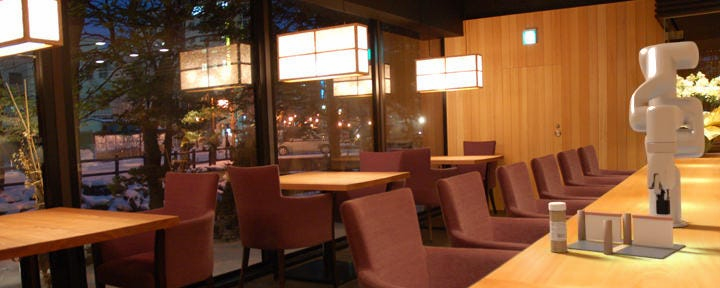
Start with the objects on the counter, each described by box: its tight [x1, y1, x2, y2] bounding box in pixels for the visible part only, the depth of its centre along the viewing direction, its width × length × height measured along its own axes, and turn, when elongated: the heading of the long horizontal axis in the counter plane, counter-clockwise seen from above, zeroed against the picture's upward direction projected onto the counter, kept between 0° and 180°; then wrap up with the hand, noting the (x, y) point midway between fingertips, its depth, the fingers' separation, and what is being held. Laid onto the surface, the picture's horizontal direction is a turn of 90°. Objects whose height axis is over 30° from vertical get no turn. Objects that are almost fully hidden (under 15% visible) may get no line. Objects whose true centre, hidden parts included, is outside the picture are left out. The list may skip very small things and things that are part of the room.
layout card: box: [567, 238, 686, 260], centre depth 169 cm, size 20×26×1 cm
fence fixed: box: [576, 209, 633, 256], centre depth 171 cm, size 16×15×9 cm
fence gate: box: [631, 214, 674, 247], centre depth 167 cm, size 10×2×8 cm, turn 47°
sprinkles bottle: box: [548, 201, 568, 254], centre depth 167 cm, size 5×5×13 cm
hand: (663, 214), depth 171 cm, fingers closed
